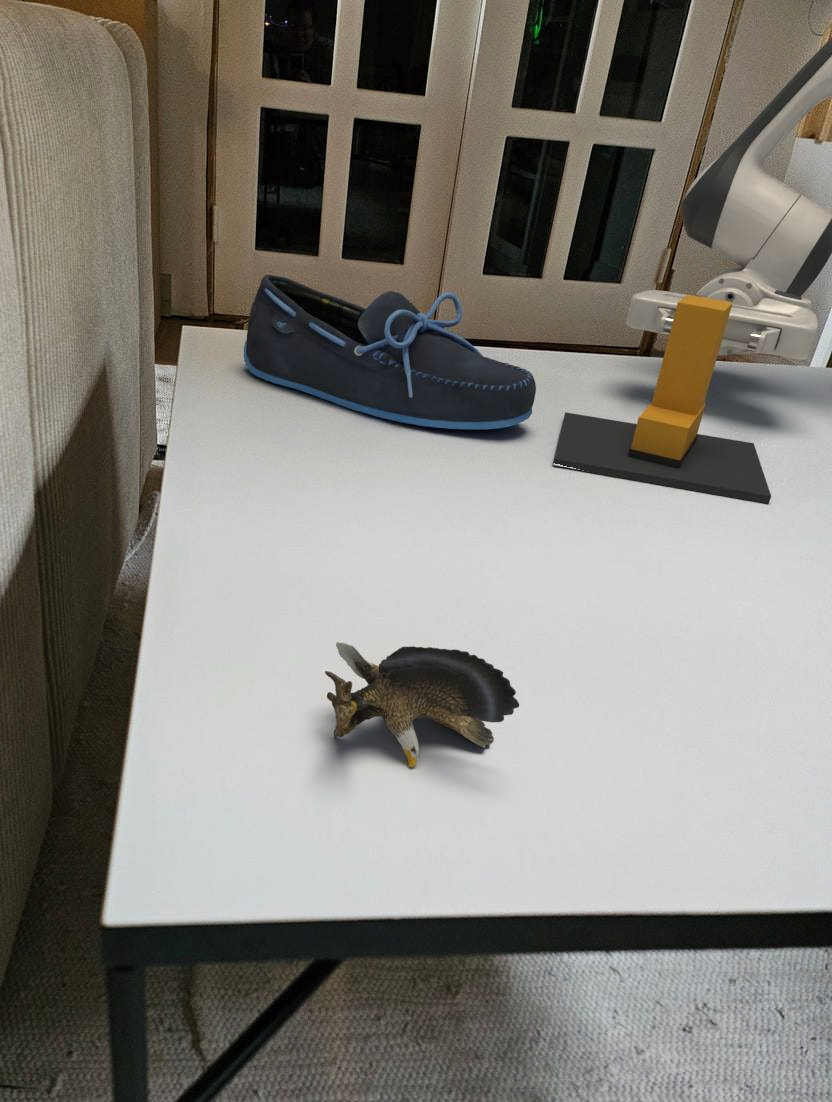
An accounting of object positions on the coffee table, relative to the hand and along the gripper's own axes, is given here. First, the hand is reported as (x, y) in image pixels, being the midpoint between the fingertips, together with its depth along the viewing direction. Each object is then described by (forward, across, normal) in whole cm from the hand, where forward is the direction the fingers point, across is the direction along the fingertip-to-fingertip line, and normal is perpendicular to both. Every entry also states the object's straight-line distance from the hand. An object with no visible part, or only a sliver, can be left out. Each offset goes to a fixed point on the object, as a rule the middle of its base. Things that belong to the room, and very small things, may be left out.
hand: (709, 334), depth 101 cm
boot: (+13, 0, +9) cm, 16 cm away
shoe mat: (+14, 0, +10) cm, 17 cm away
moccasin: (+16, -31, +10) cm, 36 cm away
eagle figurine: (+71, -3, +10) cm, 72 cm away
